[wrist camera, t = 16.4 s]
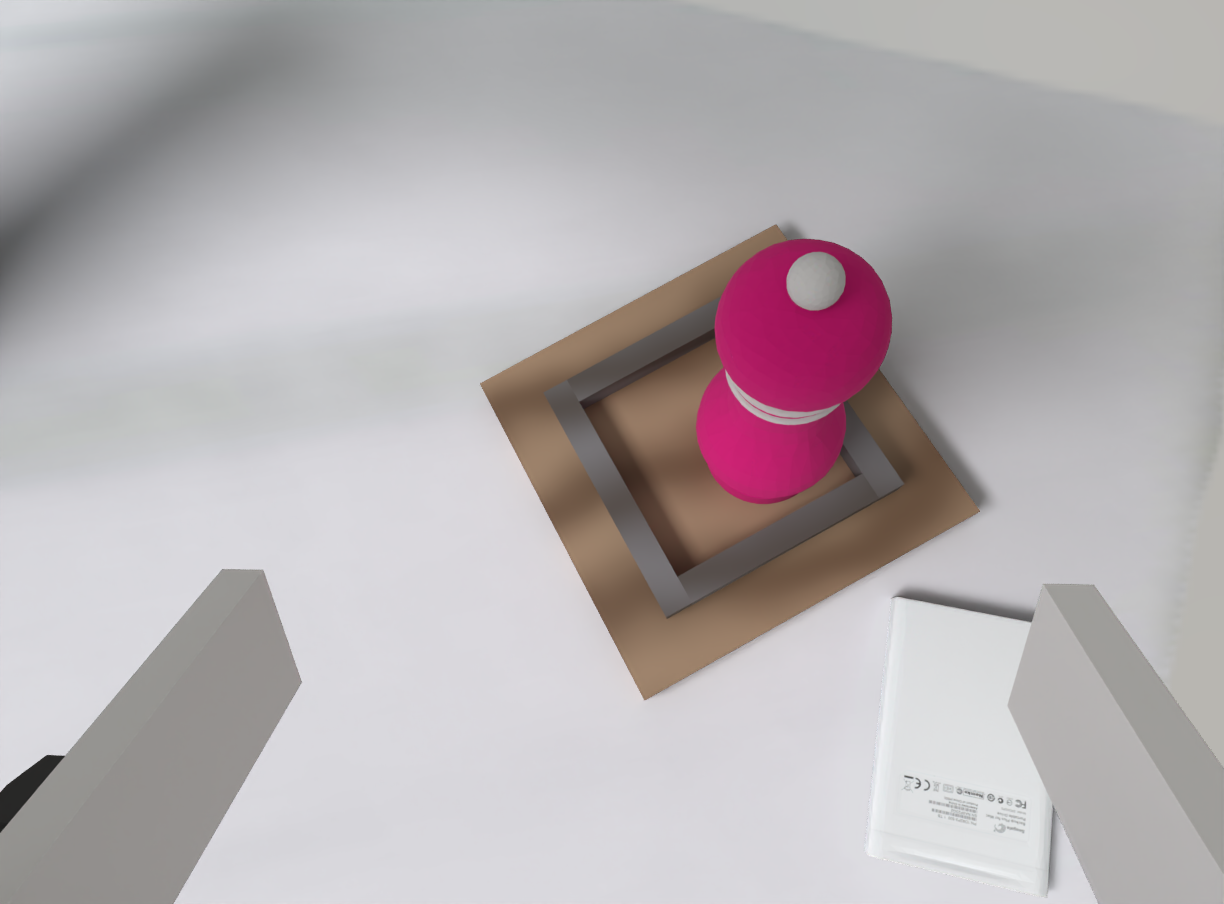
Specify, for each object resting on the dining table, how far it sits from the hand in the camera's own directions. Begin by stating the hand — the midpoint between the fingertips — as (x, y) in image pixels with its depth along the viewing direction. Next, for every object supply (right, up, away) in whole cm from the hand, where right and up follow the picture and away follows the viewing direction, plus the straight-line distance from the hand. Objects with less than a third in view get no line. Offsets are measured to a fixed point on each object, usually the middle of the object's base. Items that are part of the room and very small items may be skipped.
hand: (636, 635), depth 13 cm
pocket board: (+5, +3, +30) cm, 31 cm away
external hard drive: (+17, -11, +26) cm, 33 cm away
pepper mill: (+8, +3, +29) cm, 30 cm away
